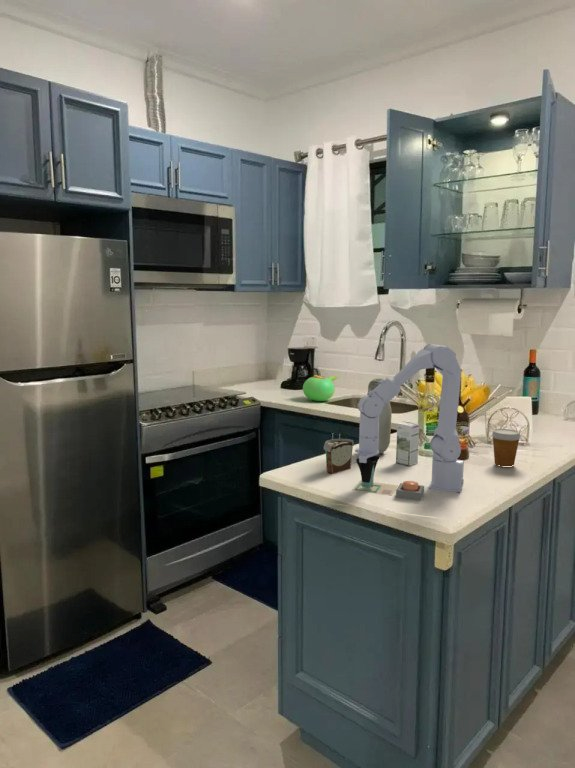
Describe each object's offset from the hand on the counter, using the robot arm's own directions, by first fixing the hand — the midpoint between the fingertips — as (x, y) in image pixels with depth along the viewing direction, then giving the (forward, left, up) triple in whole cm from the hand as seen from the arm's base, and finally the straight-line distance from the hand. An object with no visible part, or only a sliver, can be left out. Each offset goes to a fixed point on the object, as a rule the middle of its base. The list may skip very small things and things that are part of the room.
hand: (367, 480), depth 180 cm
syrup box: (-6, -34, -3) cm, 34 cm away
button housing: (-13, +1, -3) cm, 13 cm away
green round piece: (+61, -141, -3) cm, 153 cm away
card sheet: (-2, -2, -3) cm, 4 cm away
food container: (+15, -16, -3) cm, 22 cm away
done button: (-13, +1, -1) cm, 13 cm away
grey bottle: (+7, -43, -3) cm, 43 cm away
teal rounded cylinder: (0, 0, -2) cm, 2 cm away
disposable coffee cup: (-38, -45, -3) cm, 59 cm away
